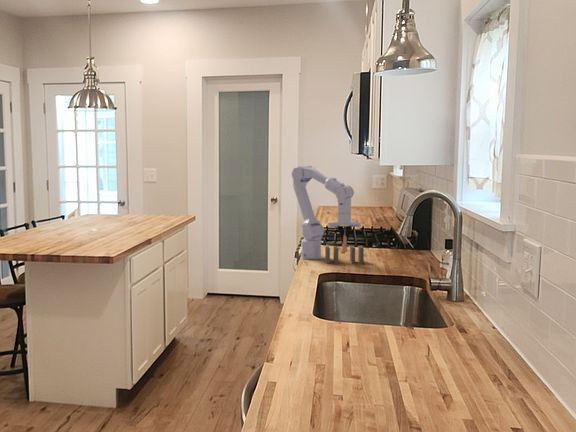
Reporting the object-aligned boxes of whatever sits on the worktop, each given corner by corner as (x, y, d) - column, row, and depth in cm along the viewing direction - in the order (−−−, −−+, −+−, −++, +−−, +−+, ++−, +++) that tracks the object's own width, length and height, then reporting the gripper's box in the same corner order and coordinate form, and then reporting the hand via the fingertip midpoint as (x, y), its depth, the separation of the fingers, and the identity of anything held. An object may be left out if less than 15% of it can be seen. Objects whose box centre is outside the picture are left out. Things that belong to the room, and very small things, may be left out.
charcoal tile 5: (326, 263, 223) (326, 248, 222) (325, 261, 228) (325, 246, 227) (329, 263, 223) (329, 248, 222) (328, 261, 228) (328, 246, 227)
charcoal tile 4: (334, 263, 223) (335, 248, 222) (333, 261, 228) (333, 246, 227) (338, 263, 223) (338, 248, 222) (336, 261, 228) (336, 246, 227)
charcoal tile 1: (360, 263, 223) (360, 247, 222) (358, 260, 228) (358, 245, 227) (363, 263, 223) (363, 247, 223) (361, 260, 228) (361, 245, 227)
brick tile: (343, 252, 222) (343, 236, 221) (342, 250, 227) (342, 234, 226) (346, 252, 222) (346, 236, 221) (345, 249, 227) (345, 234, 226)
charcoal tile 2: (351, 263, 223) (351, 247, 222) (350, 261, 228) (350, 245, 227) (355, 263, 223) (355, 247, 222) (353, 260, 228) (353, 245, 227)
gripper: (329, 214, 218) (329, 244, 220) (362, 213, 219) (361, 244, 220) (327, 212, 225) (327, 241, 227) (359, 212, 226) (359, 241, 227)
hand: (344, 242), depth 224 cm, fingers closed on brick tile, 1 cm apart
